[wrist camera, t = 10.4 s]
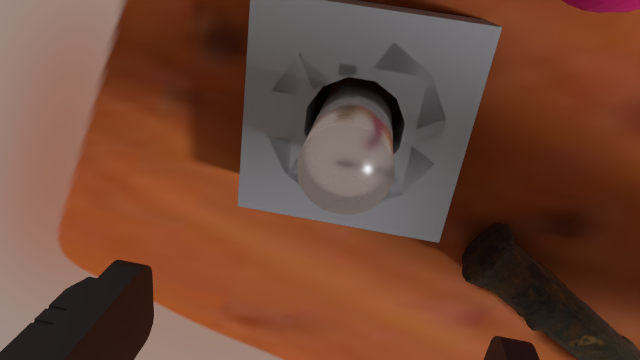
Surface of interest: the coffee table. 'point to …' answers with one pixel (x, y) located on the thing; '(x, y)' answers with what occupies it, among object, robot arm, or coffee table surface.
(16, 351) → the robot arm
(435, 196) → the bore block
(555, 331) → the hand tool
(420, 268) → the coffee table surface
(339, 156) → the round bit
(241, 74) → the coffee table surface
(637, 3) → the pepper mill
